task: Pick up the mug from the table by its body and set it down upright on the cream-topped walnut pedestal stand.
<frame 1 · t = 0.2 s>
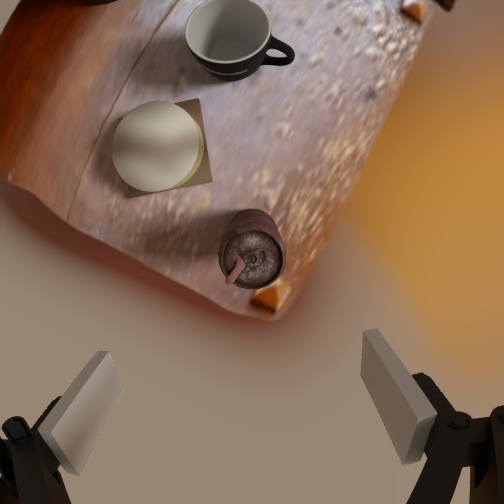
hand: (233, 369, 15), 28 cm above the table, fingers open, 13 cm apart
mug: (244, 61, 36), on the table
can: (252, 232, 41), on the table
stand: (164, 148, 39), on the table
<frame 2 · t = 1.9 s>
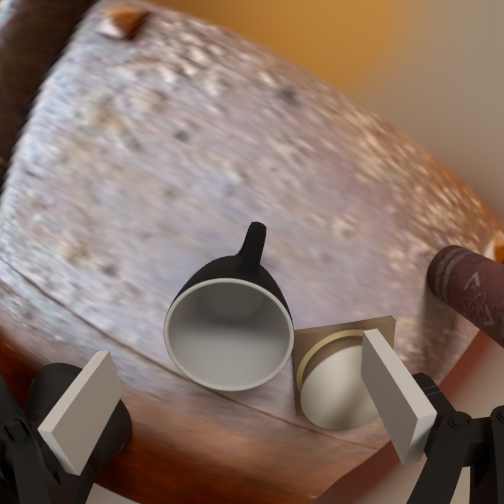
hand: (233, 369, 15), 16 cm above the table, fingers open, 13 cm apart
mug: (239, 274, 30), on the table
can: (447, 271, 31), on the table
stand: (342, 366, 33), on the table
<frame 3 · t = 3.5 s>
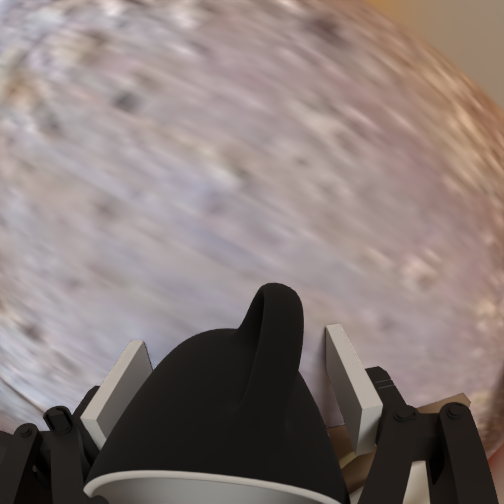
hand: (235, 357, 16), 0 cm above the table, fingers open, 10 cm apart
mug: (238, 353, 16), on the table, touching gripper
stand: (386, 460, 19), on the table
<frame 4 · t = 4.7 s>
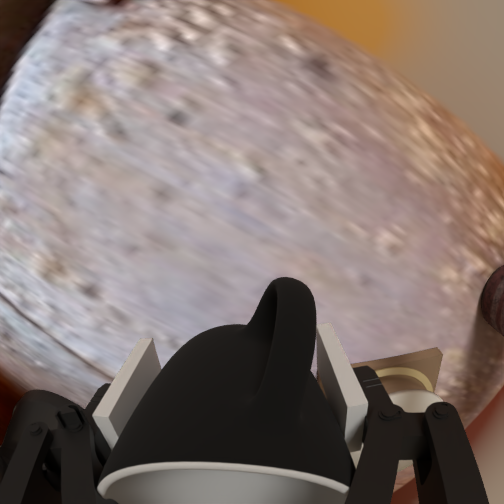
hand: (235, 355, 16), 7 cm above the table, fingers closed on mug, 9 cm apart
mug: (246, 349, 17), point 6 cm above the table, touching gripper
can: (501, 292, 22), on the table
stand: (375, 406, 25), on the table
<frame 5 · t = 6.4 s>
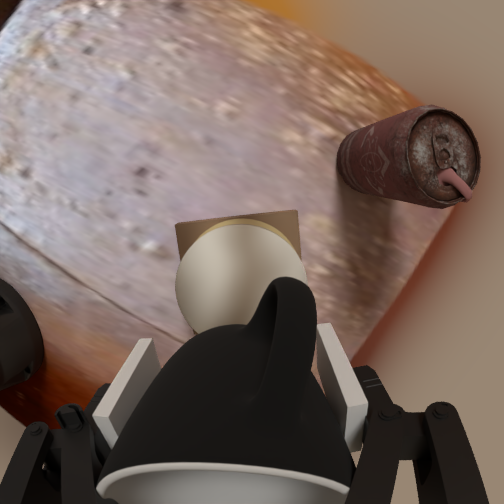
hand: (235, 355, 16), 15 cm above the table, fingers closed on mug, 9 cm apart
mug: (246, 349, 17), point 14 cm above the table, touching gripper
can: (366, 162, 28), on the table
stand: (242, 273, 30), on the table
when the fingers open (6 cm above the table, at t = 8.2 s): mug drops 1 cm, resting on stand.
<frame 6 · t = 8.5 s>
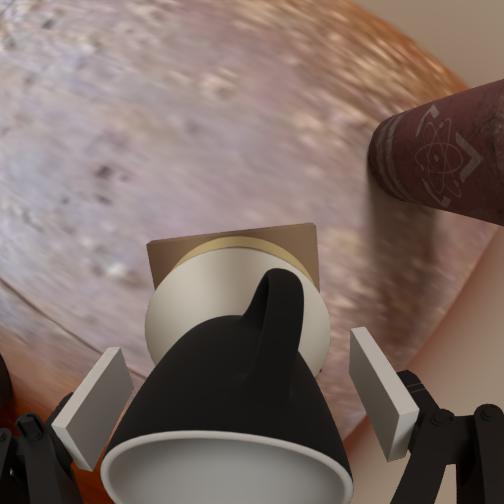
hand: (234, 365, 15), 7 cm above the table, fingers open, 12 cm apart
mug: (244, 339, 18), point 5 cm above the table, touching stand
can: (404, 159, 20), on the table
stand: (240, 307, 22), on the table
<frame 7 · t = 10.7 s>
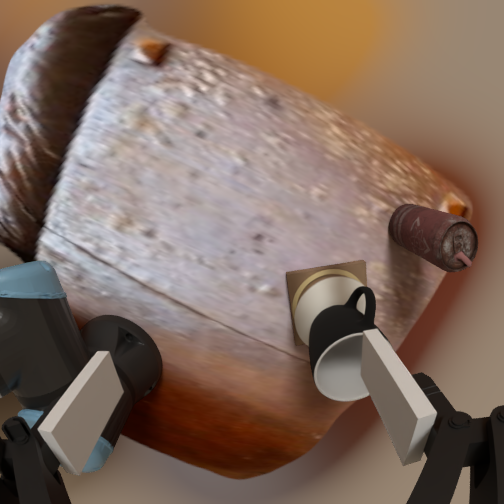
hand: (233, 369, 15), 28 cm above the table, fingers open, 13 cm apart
mug: (339, 315, 40), point 5 cm above the table, touching stand
can: (406, 225, 42), on the table
stand: (328, 302, 44), on the table
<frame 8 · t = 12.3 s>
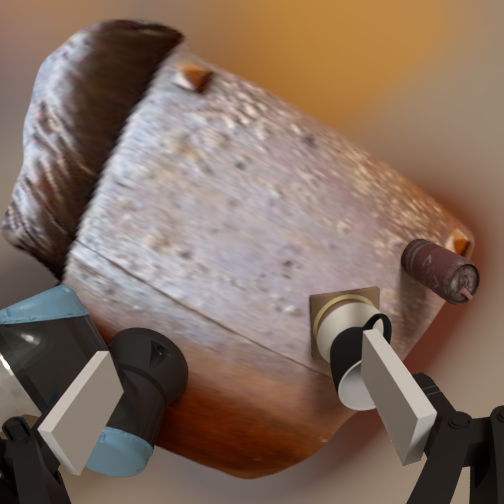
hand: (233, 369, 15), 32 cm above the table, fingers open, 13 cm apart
mug: (355, 335, 44), point 5 cm above the table, touching stand
can: (416, 256, 46), on the table
stand: (344, 322, 49), on the table
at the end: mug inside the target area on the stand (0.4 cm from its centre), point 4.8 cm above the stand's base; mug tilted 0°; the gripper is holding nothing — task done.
